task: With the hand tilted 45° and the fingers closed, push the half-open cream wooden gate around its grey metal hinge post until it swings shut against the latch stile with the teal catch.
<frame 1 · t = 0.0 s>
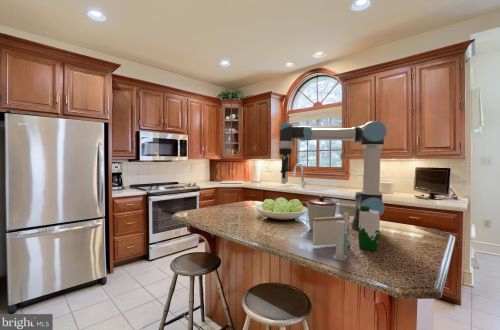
hand: (284, 182, 156), 28 cm above the countertop, tool pointing down, fingers open, 13 cm apart
gate: (328, 230, 123), point 8 cm above the countertop, hinge at -45.0°
gate frame: (346, 244, 127), on the countertop
canister: (320, 231, 152), on the countertop
milk carton: (368, 248, 123), on the countertop
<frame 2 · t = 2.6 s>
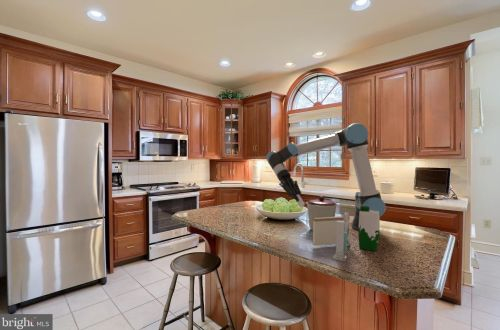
hand: (302, 205, 136), 18 cm above the countertop, tool tilted 45°, fingers closed
nothing on the countertop moved.
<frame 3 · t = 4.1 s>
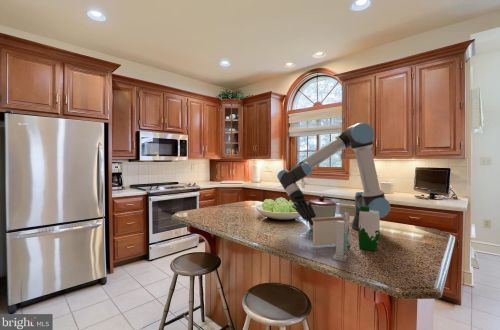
hand: (318, 230, 128), 7 cm above the countertop, tool tilted 45°, fingers closed
nothing on the countertop moved.
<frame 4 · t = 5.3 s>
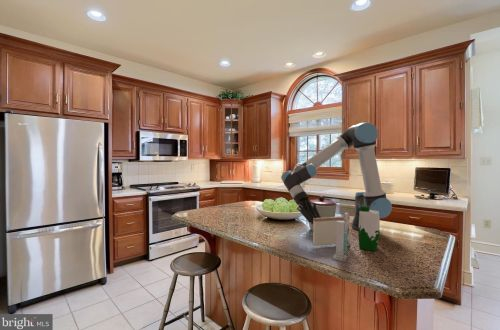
hand: (323, 233, 125), 6 cm above the countertop, tool tilted 45°, fingers closed
gate: (328, 230, 123), point 8 cm above the countertop, hinge at -44.9°, touching gripper
everything else where it was.
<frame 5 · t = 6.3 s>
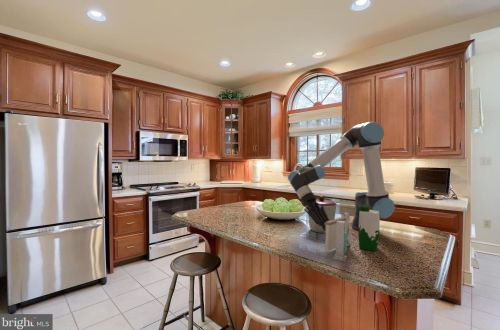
hand: (331, 235, 121), 6 cm above the countertop, tool tilted 45°, fingers closed
gate: (335, 233, 119), point 8 cm above the countertop, hinge at -19.3°, touching gripper
everything else where it was.
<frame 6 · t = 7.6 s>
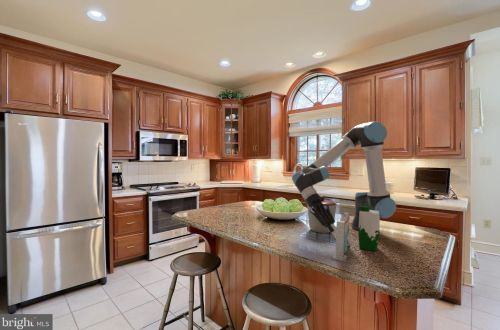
hand: (338, 237, 119), 6 cm above the countertop, tool tilted 45°, fingers closed
gate: (343, 234, 117), point 8 cm above the countertop, hinge at -0.7°, touching gripper
everything else where it was.
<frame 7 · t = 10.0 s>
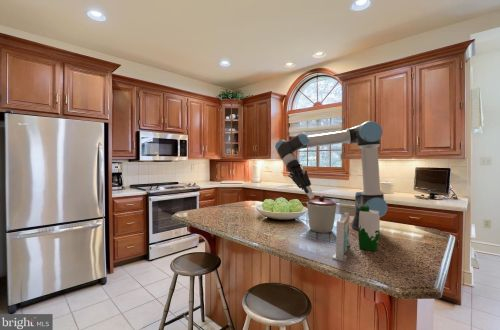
hand: (312, 197, 135), 22 cm above the countertop, tool tilted 40°, fingers closed
gate: (343, 234, 117), point 8 cm above the countertop, hinge at -0.7°
everything else where it was.
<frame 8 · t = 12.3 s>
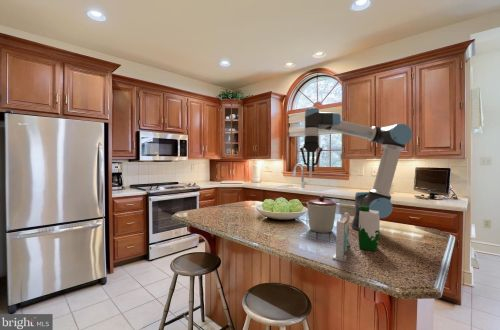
hand: (310, 177, 144), 32 cm above the countertop, tool pointing down, fingers closed
nothing on the countertop moved.
at the end: gate at -1° (first picture: -45°); milk carton moved 0.2 cm from its start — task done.
